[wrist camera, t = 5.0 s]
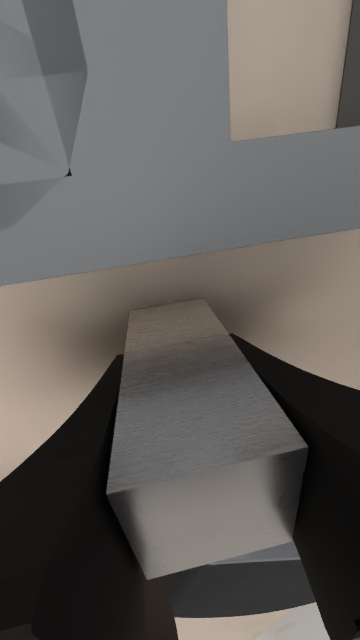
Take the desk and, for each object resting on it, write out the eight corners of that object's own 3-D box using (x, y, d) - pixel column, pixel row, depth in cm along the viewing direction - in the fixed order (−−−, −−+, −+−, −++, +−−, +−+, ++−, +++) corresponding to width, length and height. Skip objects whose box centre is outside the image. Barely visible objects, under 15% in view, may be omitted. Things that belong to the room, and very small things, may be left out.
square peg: (203, 297, 11) (308, 446, 4) (208, 357, 13) (291, 542, 6) (129, 310, 11) (105, 494, 4) (144, 370, 13) (147, 580, 5)
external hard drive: (193, 488, 19) (205, 555, 15) (366, 495, 24) (407, 546, 20) (151, 566, 24) (152, 632, 20) (302, 558, 29) (326, 610, 25)
